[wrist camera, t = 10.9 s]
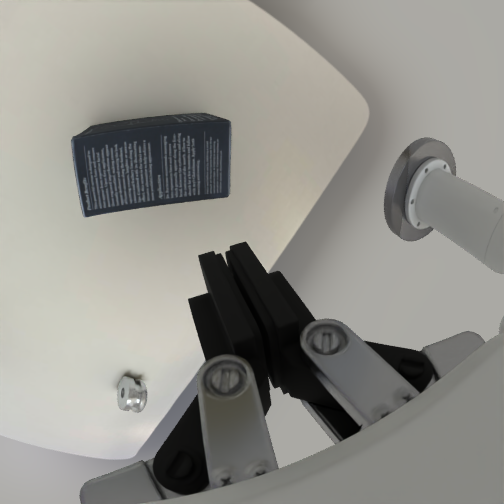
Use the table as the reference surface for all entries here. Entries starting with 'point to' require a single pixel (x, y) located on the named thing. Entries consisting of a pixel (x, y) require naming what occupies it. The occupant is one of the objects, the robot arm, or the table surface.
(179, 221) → the table surface
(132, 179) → the box
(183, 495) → the robot arm
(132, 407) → the grooved metal pulley
